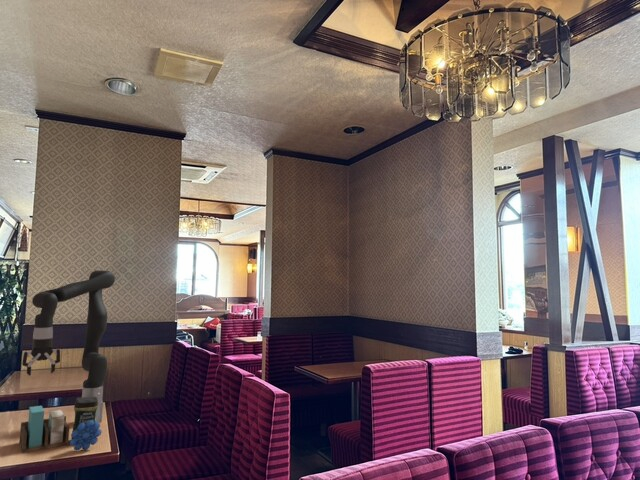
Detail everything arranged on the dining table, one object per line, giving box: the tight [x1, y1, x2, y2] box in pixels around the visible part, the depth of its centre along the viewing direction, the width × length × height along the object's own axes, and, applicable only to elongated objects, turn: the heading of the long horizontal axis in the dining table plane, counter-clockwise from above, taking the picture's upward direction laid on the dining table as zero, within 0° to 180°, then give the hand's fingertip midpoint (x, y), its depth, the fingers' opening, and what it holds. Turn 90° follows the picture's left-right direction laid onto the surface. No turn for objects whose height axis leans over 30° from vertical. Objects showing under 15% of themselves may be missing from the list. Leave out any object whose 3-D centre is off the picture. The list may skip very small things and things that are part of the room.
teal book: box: [27, 405, 45, 448], centre depth 190 cm, size 4×10×14 cm, turn 37°
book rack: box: [18, 409, 70, 454], centre depth 192 cm, size 17×14×12 cm
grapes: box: [69, 420, 103, 452], centre depth 187 cm, size 12×7×12 cm, turn 119°
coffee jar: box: [70, 396, 98, 440], centre depth 198 cm, size 10×8×19 cm
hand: (40, 373), depth 199 cm, fingers open, 8 cm apart
